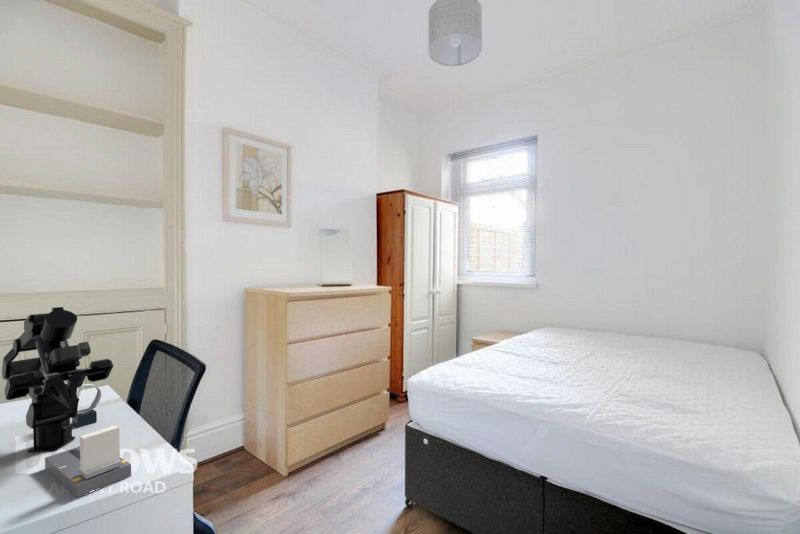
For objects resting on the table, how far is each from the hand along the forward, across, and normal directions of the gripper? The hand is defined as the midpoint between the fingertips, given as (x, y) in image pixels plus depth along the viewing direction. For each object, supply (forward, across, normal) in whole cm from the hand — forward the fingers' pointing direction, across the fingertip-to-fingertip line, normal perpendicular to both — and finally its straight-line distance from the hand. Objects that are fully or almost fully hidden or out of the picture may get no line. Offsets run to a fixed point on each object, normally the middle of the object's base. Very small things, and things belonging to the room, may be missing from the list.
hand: (72, 407), depth 86 cm
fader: (+19, 0, -5) cm, 19 cm away
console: (+15, 0, +2) cm, 15 cm away
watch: (-9, +10, +27) cm, 30 cm away
